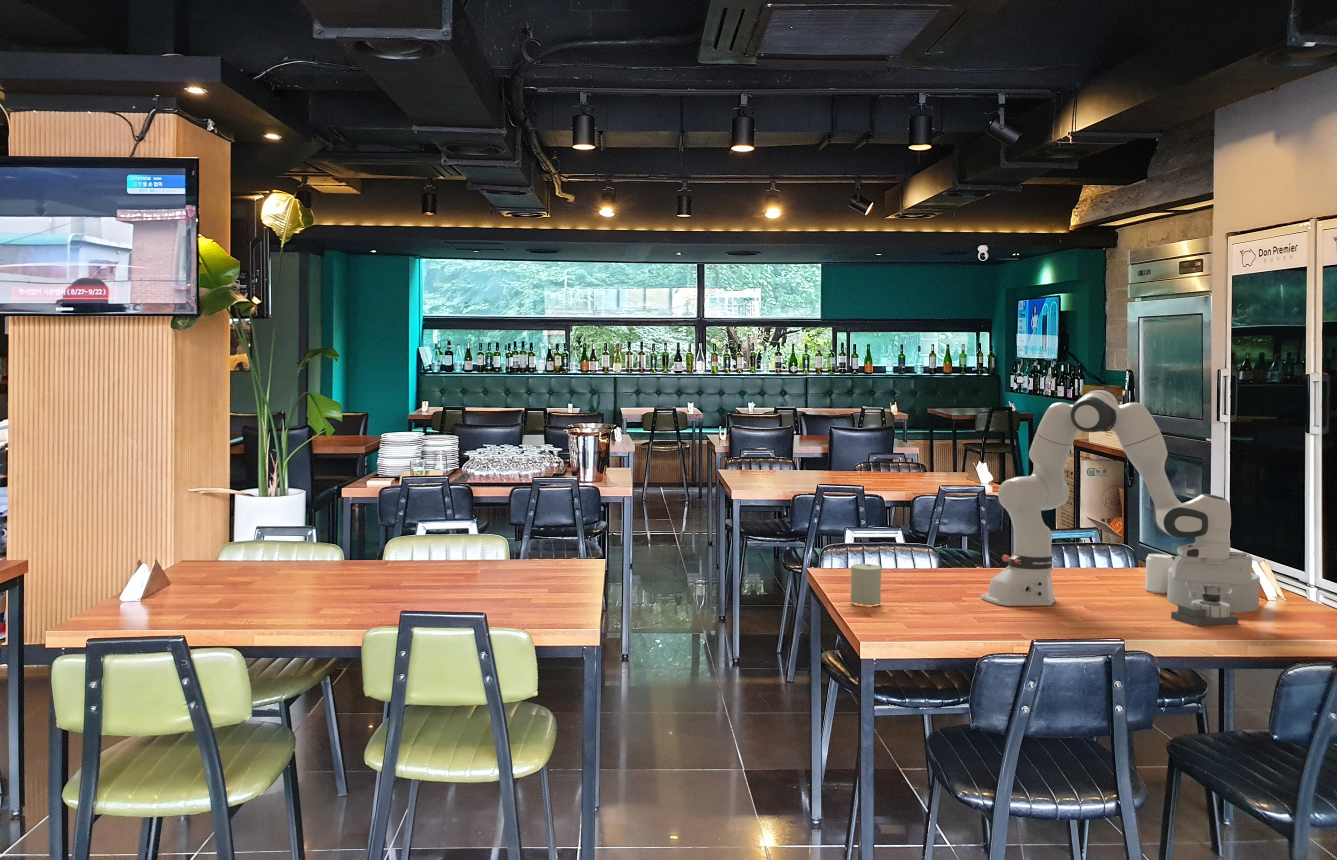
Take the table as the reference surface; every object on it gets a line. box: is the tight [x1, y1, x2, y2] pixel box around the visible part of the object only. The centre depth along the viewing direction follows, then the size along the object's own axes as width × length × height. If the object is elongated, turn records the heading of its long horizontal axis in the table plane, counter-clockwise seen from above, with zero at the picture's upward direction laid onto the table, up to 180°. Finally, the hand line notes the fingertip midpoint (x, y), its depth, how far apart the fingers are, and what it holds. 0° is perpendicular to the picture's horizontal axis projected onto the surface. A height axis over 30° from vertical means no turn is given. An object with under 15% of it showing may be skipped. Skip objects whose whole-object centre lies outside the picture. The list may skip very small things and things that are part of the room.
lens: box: [1202, 585, 1221, 605], centre depth 286 cm, size 5×5×8 cm
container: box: [1166, 567, 1261, 614], centre depth 310 cm, size 25×25×10 cm
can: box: [850, 563, 882, 605], centre depth 305 cm, size 9×9×12 cm
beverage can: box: [1144, 553, 1174, 595], centre depth 327 cm, size 8×8×12 cm
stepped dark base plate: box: [1170, 600, 1239, 627], centre depth 287 cm, size 14×10×5 cm
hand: (1210, 598), depth 287 cm, fingers open, 8 cm apart
